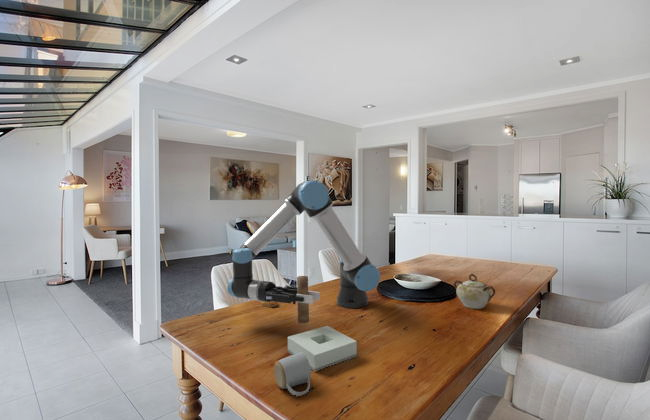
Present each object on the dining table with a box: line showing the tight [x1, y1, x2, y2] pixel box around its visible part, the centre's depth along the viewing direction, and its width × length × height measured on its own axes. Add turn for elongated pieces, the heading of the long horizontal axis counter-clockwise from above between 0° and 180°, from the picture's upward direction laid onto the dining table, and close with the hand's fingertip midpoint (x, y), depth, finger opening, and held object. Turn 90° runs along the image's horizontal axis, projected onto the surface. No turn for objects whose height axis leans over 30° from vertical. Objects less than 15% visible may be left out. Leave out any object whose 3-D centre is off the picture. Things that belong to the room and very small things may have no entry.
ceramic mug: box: [273, 352, 312, 397], centre depth 88 cm, size 11×8×8 cm
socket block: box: [287, 325, 358, 372], centre depth 107 cm, size 16×16×5 cm
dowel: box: [296, 275, 310, 324], centre depth 119 cm, size 4×4×16 cm
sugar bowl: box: [453, 273, 496, 310], centre depth 153 cm, size 20×15×15 cm
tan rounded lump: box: [260, 301, 279, 308], centre depth 157 cm, size 9×7×4 cm
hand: (315, 298), depth 116 cm, fingers closed on dowel, 4 cm apart
